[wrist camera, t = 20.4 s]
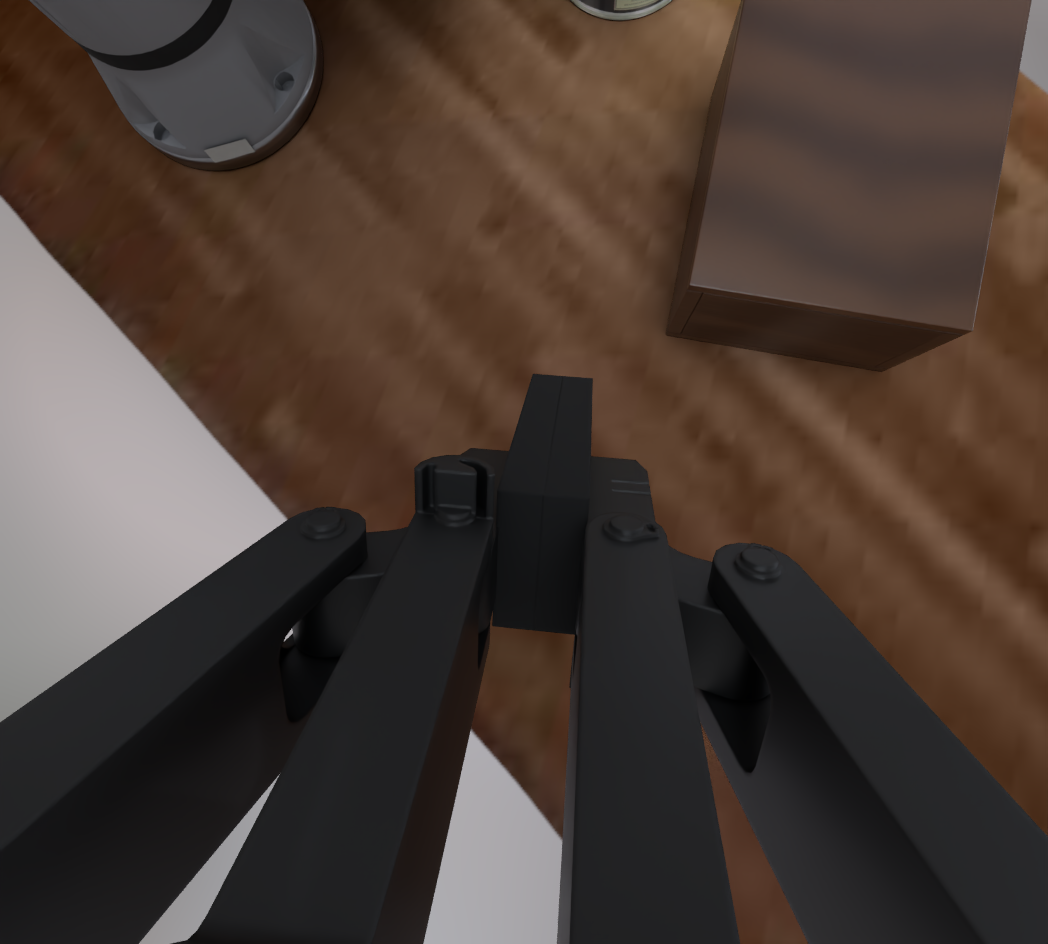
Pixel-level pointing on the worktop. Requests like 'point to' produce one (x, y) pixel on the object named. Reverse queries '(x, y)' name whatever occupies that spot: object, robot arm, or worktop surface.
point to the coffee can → (620, 8)
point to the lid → (861, 157)
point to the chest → (777, 323)
